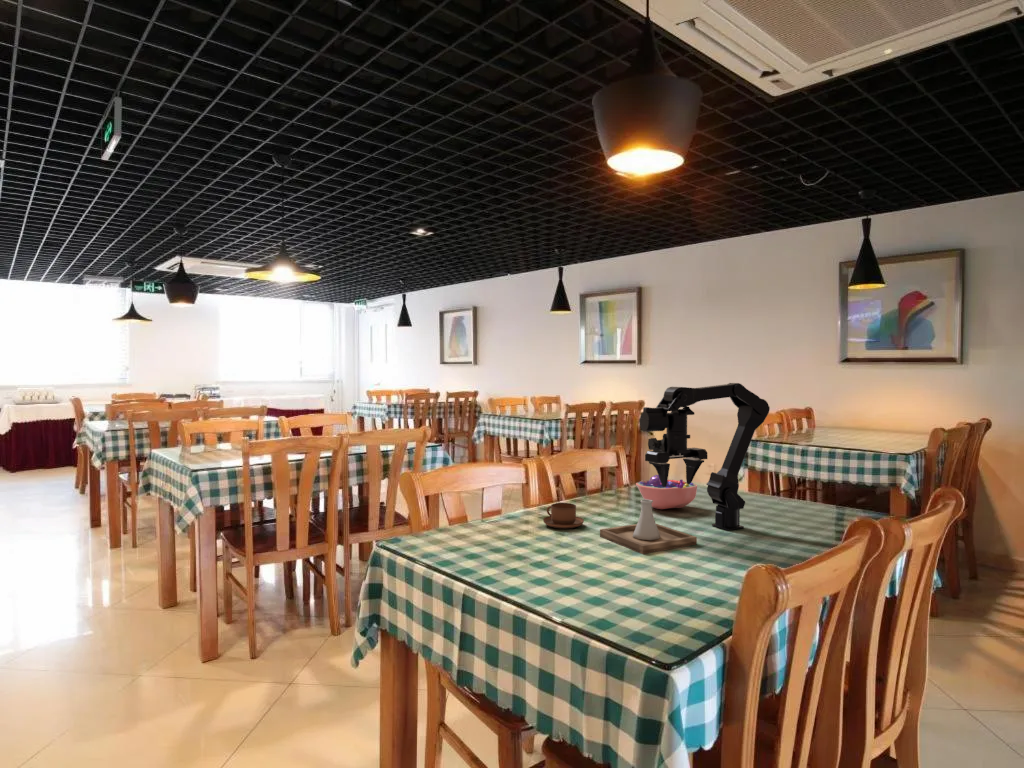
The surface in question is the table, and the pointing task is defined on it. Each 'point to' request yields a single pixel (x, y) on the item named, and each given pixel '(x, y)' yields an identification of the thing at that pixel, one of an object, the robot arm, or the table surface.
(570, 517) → the cup and saucer
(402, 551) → the table surface
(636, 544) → the walnut tray
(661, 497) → the cell model
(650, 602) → the table surface
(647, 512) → the flask
